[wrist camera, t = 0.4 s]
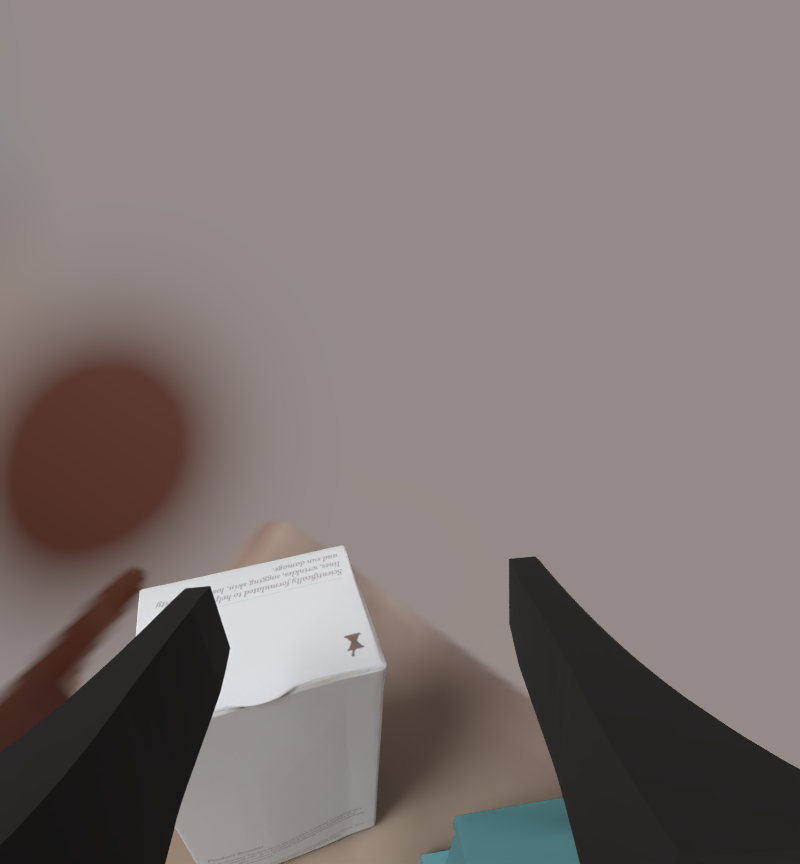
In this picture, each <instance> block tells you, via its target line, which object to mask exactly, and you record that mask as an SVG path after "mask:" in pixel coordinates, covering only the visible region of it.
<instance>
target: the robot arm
mask: <svg viewBox="0 0 800 864" xmlns="http://www.w3.org/2000/svg"><path fill="white" fill-rule="evenodd" d="M509 604H510V605H509V610H510V611H509V613H510V614H509V616H510V618H509V620H510V621H509V623H510V628H511V632H512V636H513V641H514V646H515V650H516V654H517V658H518V663H519V666H520V669H521V672H522V675H523V678H524V681H525V684H526V687H527V690H528V693H529V695H530V698H531V701H532V704H533V707H534V710H535V713H536V715H537V718H538V721H539V724H540V727H541V730H542V733H543V735H544V738H545V741H546V744H547V747H548V750H549V752H550V755H551V758H552V761H553V764H554V767H555V771H556V774H557V777H558V780H559V784H560V787H561V791H562V795H563V799H564V803H565V807H566V811H567V815H568V818H569V822H570V826H571V830H572V834H573V838H574V842H575V846H576V850H577V854H578V858H579V862H580V864H800V769H798V768H796V767H795V766H793V765H791V764H789V763H787V762H786V761H784V760H782V759H780V758H779V757H777V756H775V755H774V754H772V753H770V752H769V751H767V750H765V749H764V748H762V747H760V746H759V745H757V744H755V743H754V742H752V741H750V740H749V739H747V738H745V737H744V736H742V735H741V734H739V733H737V732H736V731H734V730H733V729H731V728H730V727H728V726H726V725H725V724H724V723H722V722H721V721H719V720H718V719H716V718H715V717H713V716H712V715H710V714H709V713H707V712H706V711H704V710H703V709H701V708H700V707H698V706H697V705H696V704H694V703H693V702H691V701H689V700H688V699H687V698H685V697H684V696H683V695H681V694H680V693H679V692H677V691H676V690H675V689H673V688H672V687H671V686H669V685H668V684H667V683H665V682H664V681H663V680H662V679H660V678H659V677H658V676H656V675H655V674H654V673H653V672H651V671H650V670H649V669H648V668H646V667H645V666H644V665H643V664H642V663H640V662H639V661H638V660H637V659H636V658H635V657H633V656H632V655H631V654H630V653H629V652H628V651H626V650H625V649H624V648H623V647H622V646H621V645H620V644H619V643H618V642H617V641H615V640H614V639H613V638H612V637H611V636H610V635H609V634H608V633H607V632H606V631H605V630H604V629H603V628H602V627H601V626H599V625H598V624H597V623H596V622H595V621H594V620H593V619H592V618H591V617H590V616H589V615H588V614H587V613H586V612H585V611H584V610H583V608H582V607H580V606H579V604H578V603H577V602H576V601H575V600H574V599H573V598H572V597H571V596H570V595H569V594H568V593H567V592H566V591H565V589H564V588H563V587H562V586H561V585H560V584H559V583H558V582H557V581H556V579H555V578H554V577H553V576H552V575H551V574H550V572H549V571H548V570H547V569H546V568H545V567H544V566H543V564H542V563H541V562H540V561H539V560H538V559H537V558H536V557H525V558H515V559H509ZM229 652H230V646H229V642H228V639H227V636H226V633H225V630H224V627H223V624H222V621H221V618H220V614H219V611H218V608H217V605H216V602H215V599H214V596H213V593H212V590H211V586H205V587H194V588H185V589H184V590H183V591H182V592H181V593H180V594H179V595H178V596H177V597H176V598H175V599H173V600H172V601H171V602H170V603H169V604H168V605H167V606H166V607H165V608H164V609H163V610H162V611H161V612H160V613H159V614H158V615H157V616H156V617H155V618H154V619H153V620H152V621H151V622H150V623H149V624H148V625H147V626H146V627H145V628H144V629H143V630H142V631H141V632H140V633H139V634H138V635H137V636H136V637H135V638H134V639H133V640H132V641H131V642H130V643H129V644H128V645H127V646H126V647H125V648H124V649H123V650H122V651H121V652H120V653H119V654H117V655H116V656H115V657H114V658H113V659H112V660H111V661H110V662H109V663H108V664H107V665H105V667H103V668H102V669H101V670H100V671H99V672H98V673H97V674H96V675H94V676H93V677H92V678H91V679H90V680H89V681H88V682H87V683H86V684H85V685H83V686H82V687H81V688H80V689H79V690H78V691H77V692H76V693H75V694H73V695H72V696H71V697H70V698H69V699H68V700H66V701H65V702H64V703H63V704H62V705H60V706H59V707H58V708H57V709H56V710H54V711H53V712H52V713H51V714H50V715H48V716H47V717H46V718H45V719H43V720H42V721H41V722H39V723H38V724H37V725H36V726H34V727H33V728H32V729H31V730H29V731H28V732H27V733H26V734H24V735H23V736H22V737H20V738H19V739H18V740H16V741H15V742H14V743H12V744H11V745H10V746H8V747H7V748H5V749H4V750H3V751H1V752H0V864H165V862H166V858H167V854H168V850H169V847H170V843H171V839H172V835H173V831H174V827H175V824H176V820H177V816H178V813H179V810H180V806H181V803H182V800H183V797H184V794H185V791H186V788H187V785H188V782H189V780H190V777H191V774H192V771H193V769H194V766H195V763H196V760H197V757H198V755H199V752H200V749H201V746H202V743H203V741H204V738H205V735H206V732H207V729H208V727H209V724H210V721H211V718H212V715H213V712H214V710H215V707H216V704H217V701H218V698H219V695H220V692H221V688H222V684H223V680H224V676H225V671H226V667H227V662H228V657H229Z"/></svg>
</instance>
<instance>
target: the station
mask: <svg viewBox="0 0 800 864" xmlns="http://www.w3.org/2000/svg"><path fill="white" fill-rule="evenodd" d="M453 824H454V828H455V836H454V839H453V842H452V845H451V848H450V850H446V851H441V852H435V853H430V854H424V855H422V858H421V862H422V864H580V862H579V858H578V854H577V850H576V846H575V842H574V838H573V834H572V830H571V826H570V822H569V818H568V815H567V811H566V807H565V803H564V799H563V798H557V799H551V800H545V801H540V802H534V803H528V804H522V805H516V806H511V807H505V808H499V809H493V810H487V811H481V812H476V813H470V814H464V815H458V816H455V819H454V822H453Z"/></svg>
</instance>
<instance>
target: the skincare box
mask: <svg viewBox="0 0 800 864" xmlns="http://www.w3.org/2000/svg"><path fill="white" fill-rule="evenodd" d="M205 586H211V590H212V593H213V596H214V599H215V602H216V605H217V608H218V611H219V614H220V618H221V621H222V624H223V627H224V630H225V633H226V636H227V639H228V642H229V646H230V652H229V657H228V662H227V667H226V671H225V676H224V680H223V684H222V688H221V692H220V695H219V698H218V701H217V704H216V707H215V710H214V712H213V715H212V718H211V721H210V724H209V727H208V729H207V732H206V735H205V738H204V741H203V743H202V746H201V749H200V752H199V755H198V757H197V760H196V763H195V766H194V769H193V771H192V774H191V777H190V780H189V782H188V785H187V788H186V791H185V794H184V797H183V800H182V803H181V806H180V810H179V813H178V816H177V820H176V824H175V828H176V830H177V832H178V833H179V835H180V836H181V838H182V840H183V842H184V843H185V845H186V847H187V848H188V850H189V852H190V854H191V855H192V857H193V859H194V860H195V862H196V864H279V863H282V862H284V861H287V860H290V859H292V858H295V857H297V856H300V855H302V854H305V853H308V852H310V851H313V850H315V849H318V848H320V847H323V846H325V845H327V844H330V843H332V842H334V841H336V840H339V839H341V838H343V837H345V836H347V835H350V834H352V833H355V832H358V831H361V830H364V829H367V828H370V827H373V826H374V825H375V822H376V806H377V788H378V771H379V756H380V743H381V729H382V712H383V694H384V683H385V674H386V669H387V663H386V660H385V657H384V655H383V652H382V649H381V647H380V644H379V641H378V637H377V634H376V631H375V628H374V626H373V623H372V620H371V618H370V615H369V612H368V609H367V606H366V604H365V601H364V598H363V595H362V593H361V590H360V587H359V584H358V582H357V579H356V576H355V574H354V571H353V568H352V566H351V563H350V560H349V558H348V556H347V552H346V550H345V547H344V546H343V545H342V546H337V547H332V548H327V549H323V550H319V551H314V552H310V553H306V554H301V555H297V556H292V557H288V558H283V559H279V560H274V561H270V562H266V563H261V564H256V565H252V566H247V567H243V568H238V569H234V570H229V571H225V572H220V573H216V574H211V575H207V576H203V577H198V578H193V579H188V580H184V581H179V582H175V583H170V584H165V585H160V586H156V587H151V588H147V589H142V590H141V591H140V595H139V604H138V616H137V628H136V636H137V635H138V634H139V633H140V632H141V631H142V630H143V629H144V628H145V627H146V626H147V625H148V624H149V623H150V622H151V621H152V620H153V619H154V618H155V617H156V616H157V615H158V614H159V613H160V612H161V611H162V610H163V609H164V608H165V607H166V606H167V605H168V604H169V603H170V602H171V601H172V600H173V599H175V598H176V597H177V596H178V595H179V594H180V593H181V592H182V591H183V590H184V589H185V588H194V587H205Z"/></svg>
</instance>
